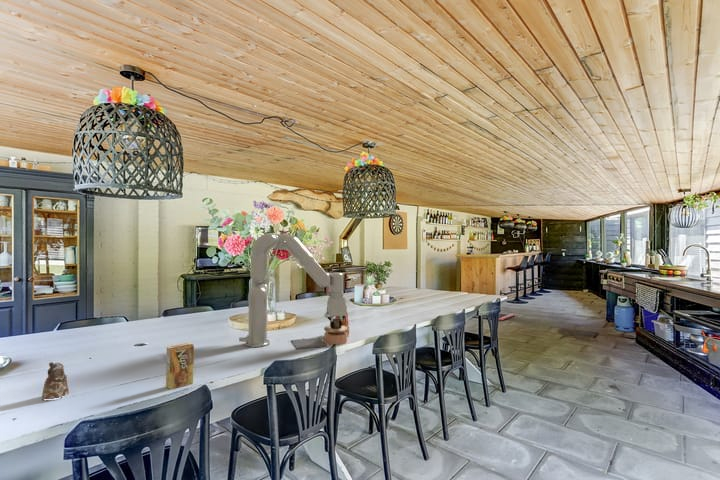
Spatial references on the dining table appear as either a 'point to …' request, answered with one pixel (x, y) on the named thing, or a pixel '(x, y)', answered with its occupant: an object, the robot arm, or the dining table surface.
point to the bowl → (335, 338)
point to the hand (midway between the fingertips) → (336, 327)
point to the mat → (308, 343)
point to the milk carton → (345, 322)
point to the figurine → (55, 382)
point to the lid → (336, 327)
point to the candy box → (179, 365)
